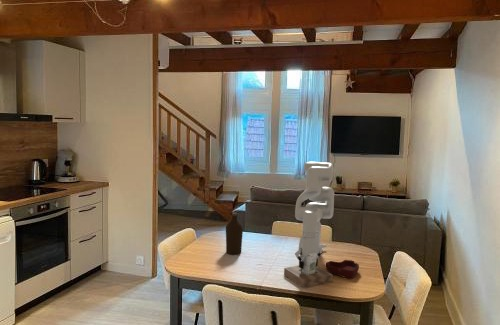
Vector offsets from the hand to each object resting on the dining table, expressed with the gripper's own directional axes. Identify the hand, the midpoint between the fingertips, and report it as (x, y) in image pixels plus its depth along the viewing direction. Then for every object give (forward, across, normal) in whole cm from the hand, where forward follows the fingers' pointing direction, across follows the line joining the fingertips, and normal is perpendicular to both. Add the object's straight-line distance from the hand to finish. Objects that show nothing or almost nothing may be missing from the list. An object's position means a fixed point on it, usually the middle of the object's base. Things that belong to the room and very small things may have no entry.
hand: (308, 266), depth 204 cm
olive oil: (+7, +18, -53) cm, 56 cm away
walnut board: (+6, 0, 0) cm, 6 cm away
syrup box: (+7, 0, 0) cm, 7 cm away
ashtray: (+7, -23, +3) cm, 24 cm away
